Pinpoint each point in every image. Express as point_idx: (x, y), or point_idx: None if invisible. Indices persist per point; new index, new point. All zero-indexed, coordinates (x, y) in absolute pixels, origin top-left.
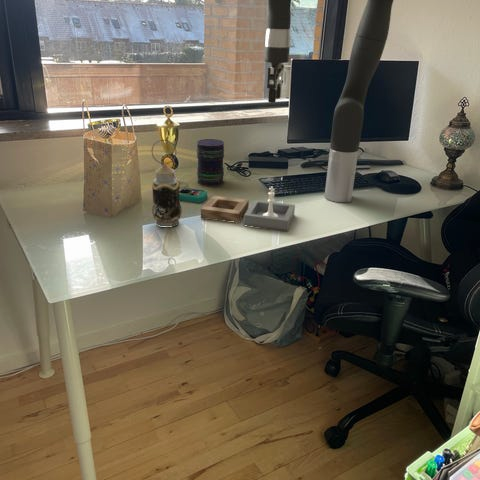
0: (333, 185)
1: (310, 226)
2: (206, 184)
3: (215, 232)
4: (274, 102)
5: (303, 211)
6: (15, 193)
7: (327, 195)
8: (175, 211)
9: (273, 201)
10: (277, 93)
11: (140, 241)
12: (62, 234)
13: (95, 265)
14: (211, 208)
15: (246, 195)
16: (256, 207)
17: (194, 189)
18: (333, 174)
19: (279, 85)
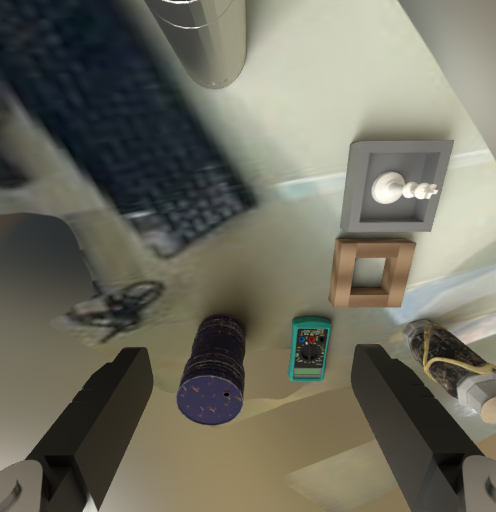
0: (243, 42)
1: (403, 98)
2: (244, 335)
3: (445, 262)
4: (375, 344)
5: (324, 127)
6: (348, 502)
7: (235, 75)
8: (452, 335)
9: (416, 183)
10: (129, 399)
11: (481, 341)
12: (462, 418)
13: None
14: (396, 292)
15: (268, 259)
16: (367, 221)
17: (296, 343)
18: (239, 27)
19: (56, 492)
